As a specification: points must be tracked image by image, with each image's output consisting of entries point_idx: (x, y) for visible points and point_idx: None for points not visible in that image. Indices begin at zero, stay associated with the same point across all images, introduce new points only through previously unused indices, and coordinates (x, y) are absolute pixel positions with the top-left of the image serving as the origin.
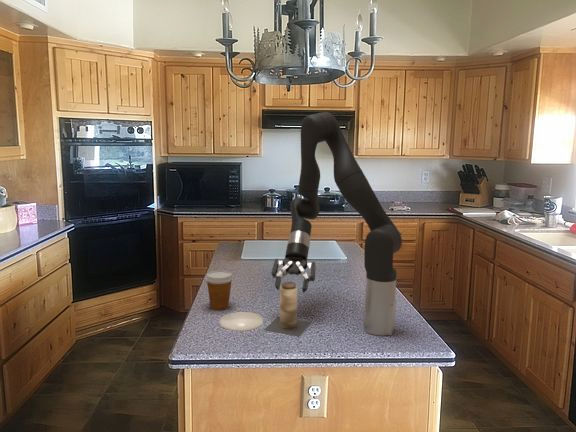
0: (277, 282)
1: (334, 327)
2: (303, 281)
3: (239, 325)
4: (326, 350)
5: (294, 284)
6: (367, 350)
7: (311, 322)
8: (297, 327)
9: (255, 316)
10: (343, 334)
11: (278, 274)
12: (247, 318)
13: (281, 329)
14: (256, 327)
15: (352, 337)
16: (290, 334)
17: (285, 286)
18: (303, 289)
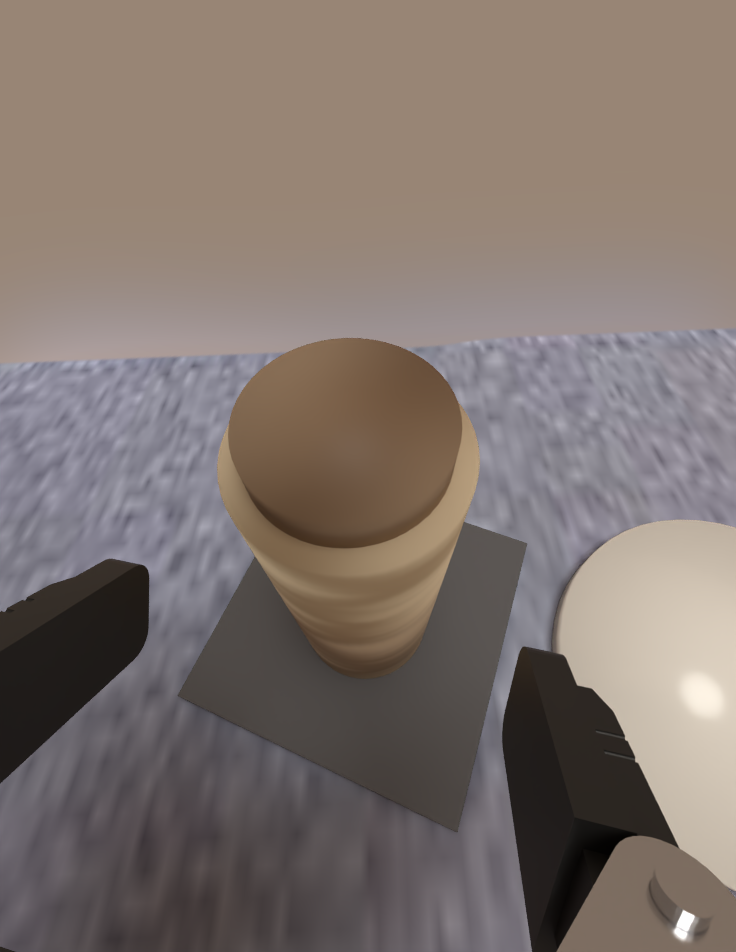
0: (576, 703)
1: None
2: (30, 632)
3: (706, 570)
4: (195, 370)
5: (253, 405)
6: (11, 378)
7: (181, 693)
8: None
9: (659, 770)
10: (34, 530)
11: (675, 894)
12: (709, 714)
13: None
14: (580, 567)
15: (3, 495)
16: None
17: (395, 353)
18: (127, 563)
